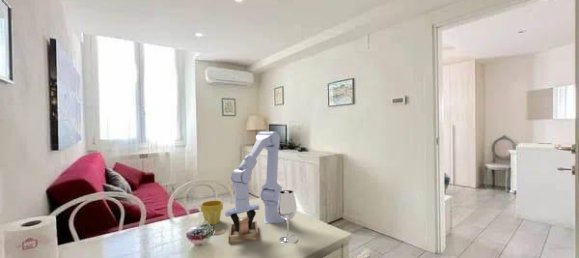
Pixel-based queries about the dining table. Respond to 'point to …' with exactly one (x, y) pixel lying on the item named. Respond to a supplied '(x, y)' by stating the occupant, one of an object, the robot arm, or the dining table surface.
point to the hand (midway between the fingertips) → (243, 229)
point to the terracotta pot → (243, 225)
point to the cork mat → (219, 231)
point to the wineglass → (287, 212)
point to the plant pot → (212, 211)
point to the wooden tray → (250, 236)
